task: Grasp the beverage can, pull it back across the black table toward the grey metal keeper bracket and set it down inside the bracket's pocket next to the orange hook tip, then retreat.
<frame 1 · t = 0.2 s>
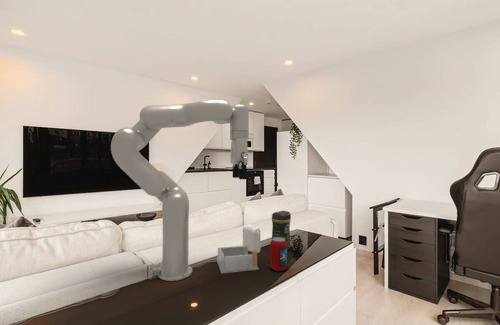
hand: (239, 178, 104), 36 cm above the table, tool pointing down, fingers open, 9 cm apart
beverage can: (278, 269, 104), on the table
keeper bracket: (237, 264, 107), on the table
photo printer: (251, 250, 125), on the table
coffee jar: (280, 249, 127), on the table
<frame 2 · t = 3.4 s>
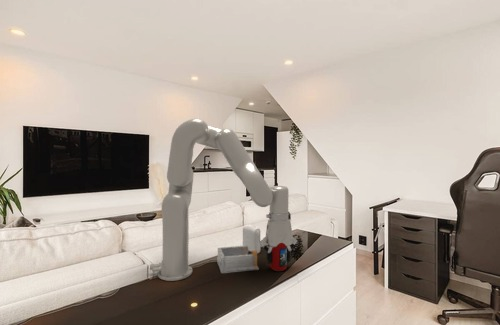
hand: (278, 260, 104), 3 cm above the table, tool pointing down, fingers closed on beverage can, 6 cm apart
beverage can: (278, 269, 104), on the table, touching gripper
everything else where it was.
when the fingers open (5 cm above the table, at t = 8.3 s): beverage can drops 1 cm, resting on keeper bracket.
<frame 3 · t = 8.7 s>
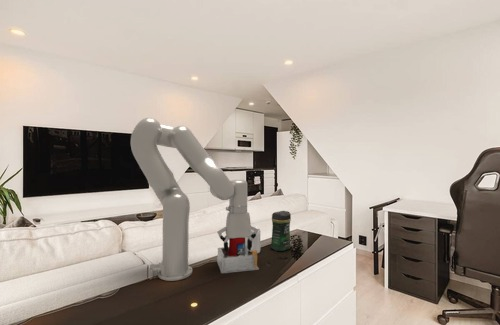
hand: (237, 250, 107), 6 cm above the table, tool pointing down, fingers open, 9 cm apart
beverage can: (237, 263, 107), resting on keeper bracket
everything else where it was.
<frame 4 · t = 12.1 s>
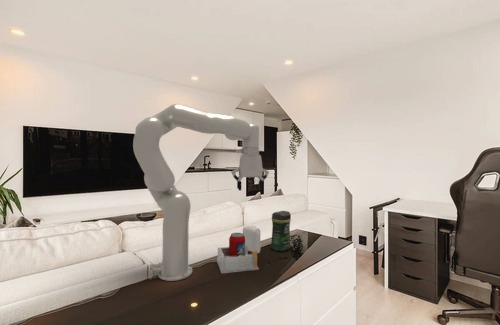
hand: (250, 189, 116), 30 cm above the table, tool pointing down, fingers open, 9 cm apart
nothing on the table moved.
at the end: beverage can inside the target area on the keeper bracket (0.3 cm from its centre), point 0.4 cm above the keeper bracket's base; beverage can tilted 0°; the gripper is holding nothing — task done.
